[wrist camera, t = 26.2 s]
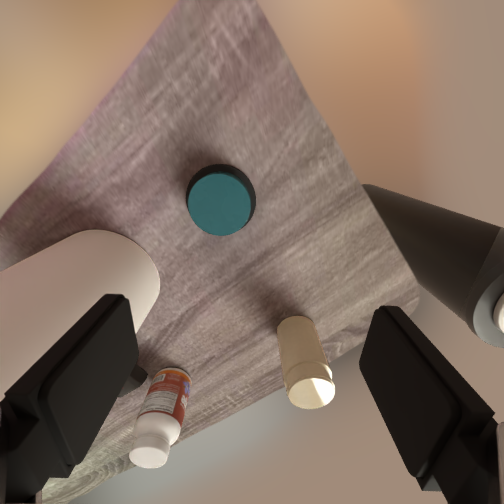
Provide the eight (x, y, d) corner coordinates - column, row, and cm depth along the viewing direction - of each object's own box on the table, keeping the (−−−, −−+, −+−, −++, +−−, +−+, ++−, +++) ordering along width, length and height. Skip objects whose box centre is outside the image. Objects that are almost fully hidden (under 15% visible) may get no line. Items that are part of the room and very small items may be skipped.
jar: (317, 315, 35) (341, 375, 26) (313, 345, 37) (334, 410, 28) (277, 315, 35) (287, 376, 26) (276, 346, 37) (284, 411, 28)
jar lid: (240, 236, 30) (239, 243, 27) (186, 220, 29) (181, 226, 27) (258, 182, 27) (259, 186, 25) (200, 162, 26) (195, 164, 24)
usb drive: (126, 386, 41) (118, 402, 38) (66, 343, 37) (53, 357, 34) (148, 373, 40) (141, 389, 37) (89, 327, 36) (77, 341, 33)
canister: (77, 321, 35) (-111, 514, 17) (37, 233, 30) (-308, 377, 11) (169, 315, 35) (80, 505, 16) (146, 225, 29) (-27, 361, 11)
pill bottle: (188, 395, 42) (168, 475, 32) (152, 387, 41) (119, 467, 31) (196, 370, 39) (177, 449, 29) (158, 362, 38) (125, 439, 28)
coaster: (257, 165, 27) (257, 166, 26) (253, 234, 30) (254, 235, 29) (184, 162, 26) (183, 162, 26) (188, 231, 30) (188, 232, 29)
